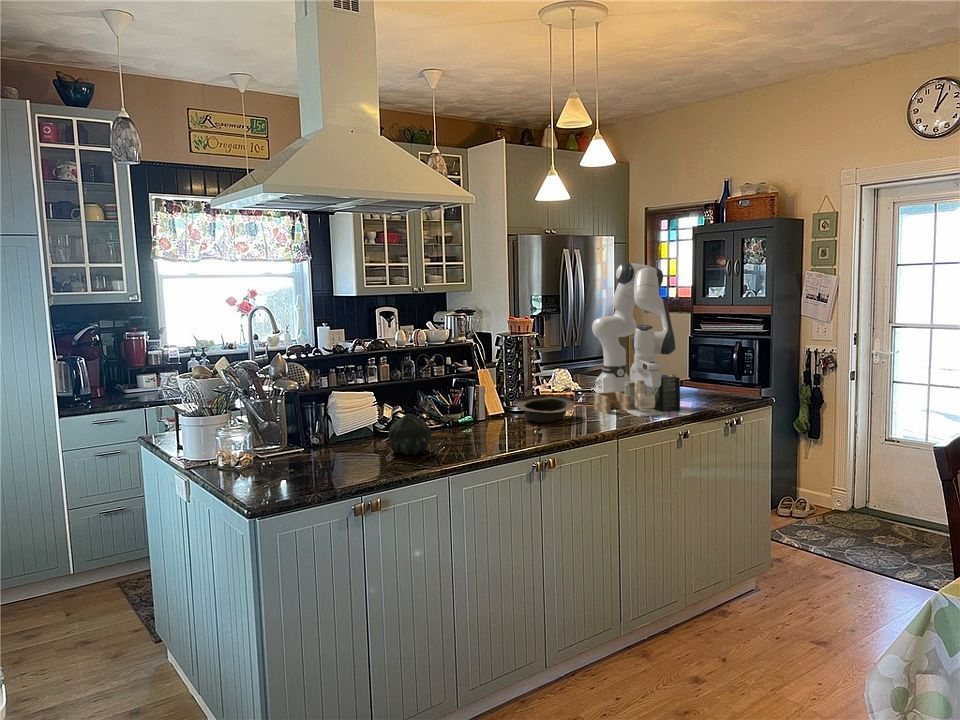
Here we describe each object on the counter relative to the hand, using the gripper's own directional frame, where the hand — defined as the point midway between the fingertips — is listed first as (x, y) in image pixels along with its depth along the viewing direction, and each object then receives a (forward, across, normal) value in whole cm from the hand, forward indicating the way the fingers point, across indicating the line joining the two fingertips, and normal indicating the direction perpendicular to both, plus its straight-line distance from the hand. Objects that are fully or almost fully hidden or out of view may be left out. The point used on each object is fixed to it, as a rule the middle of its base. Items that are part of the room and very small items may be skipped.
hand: (644, 395), depth 310 cm
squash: (+8, +26, -108) cm, 112 cm away
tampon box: (+8, -5, +14) cm, 17 cm away
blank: (+5, 0, 0) cm, 5 cm away
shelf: (+8, -13, -4) cm, 15 cm away
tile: (+8, 0, 0) cm, 8 cm away
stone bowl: (+8, -7, -43) cm, 45 cm away
